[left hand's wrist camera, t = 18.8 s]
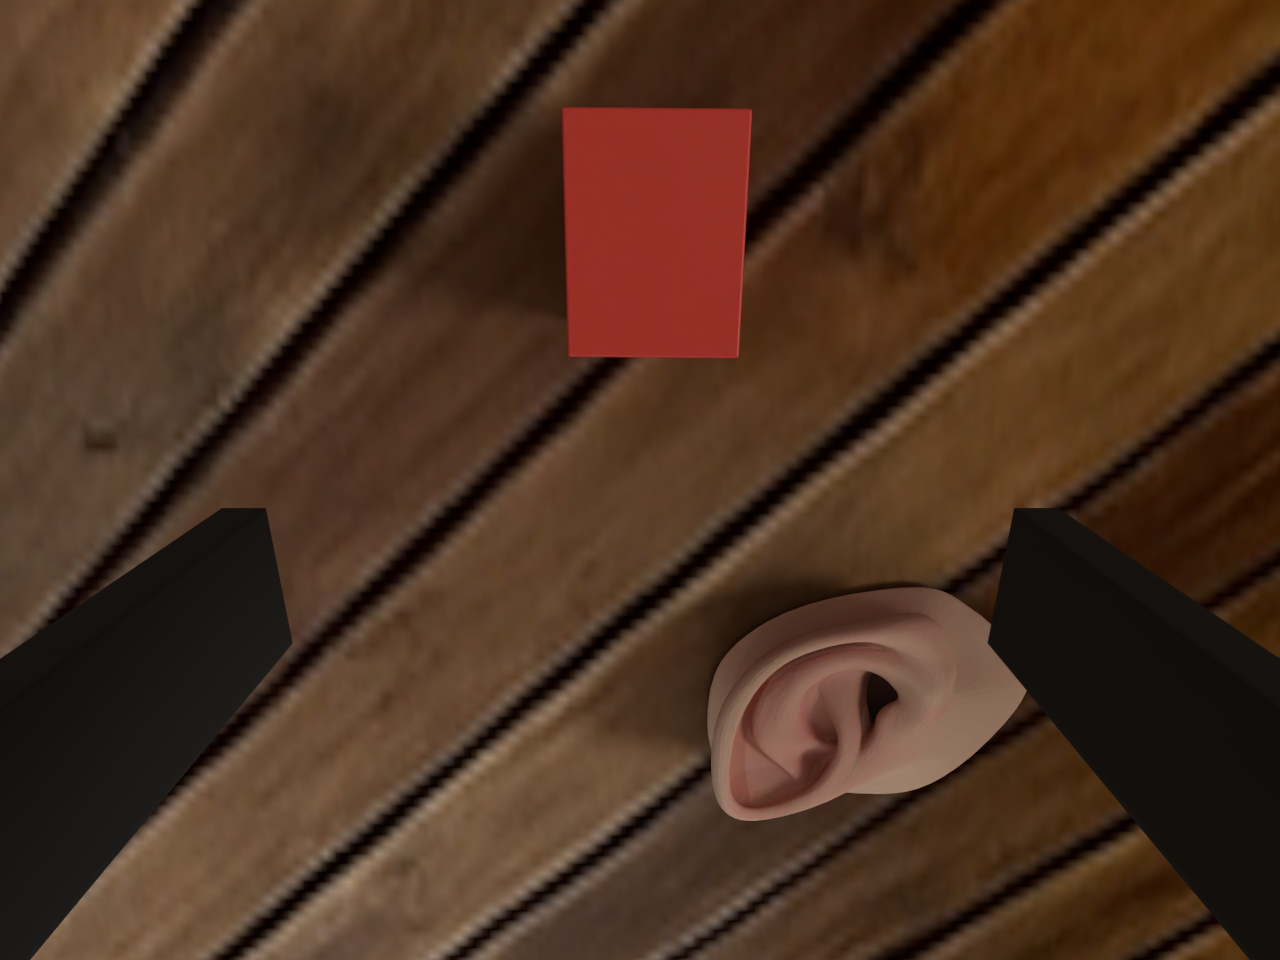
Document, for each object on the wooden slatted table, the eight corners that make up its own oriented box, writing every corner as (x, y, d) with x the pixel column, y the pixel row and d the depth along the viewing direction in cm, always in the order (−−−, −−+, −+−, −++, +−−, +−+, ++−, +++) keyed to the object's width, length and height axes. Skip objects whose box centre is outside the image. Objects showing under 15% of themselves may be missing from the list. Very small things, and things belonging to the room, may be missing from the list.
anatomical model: (1121, 682, 26) (978, 902, 30) (1061, 626, 30) (940, 826, 33) (788, 583, 25) (681, 824, 28) (769, 536, 28) (677, 755, 32)
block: (720, 144, 24) (752, 107, 17) (713, 325, 26) (739, 358, 19) (584, 143, 24) (561, 106, 17) (587, 324, 26) (567, 357, 19)
